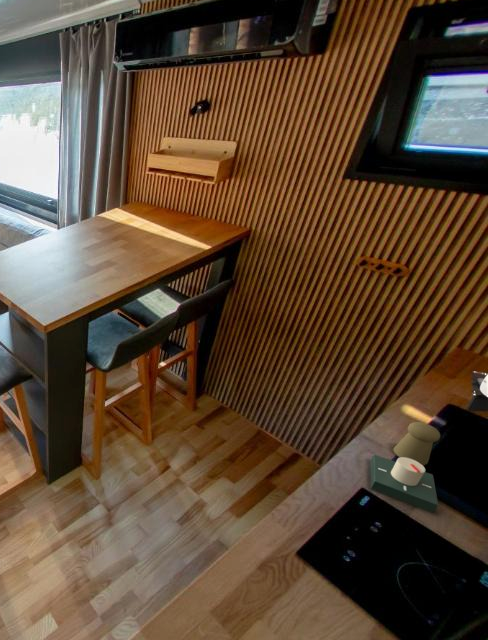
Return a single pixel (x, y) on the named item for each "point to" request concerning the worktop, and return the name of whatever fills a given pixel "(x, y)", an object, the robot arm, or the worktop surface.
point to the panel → (402, 485)
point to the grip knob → (407, 471)
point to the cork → (417, 442)
